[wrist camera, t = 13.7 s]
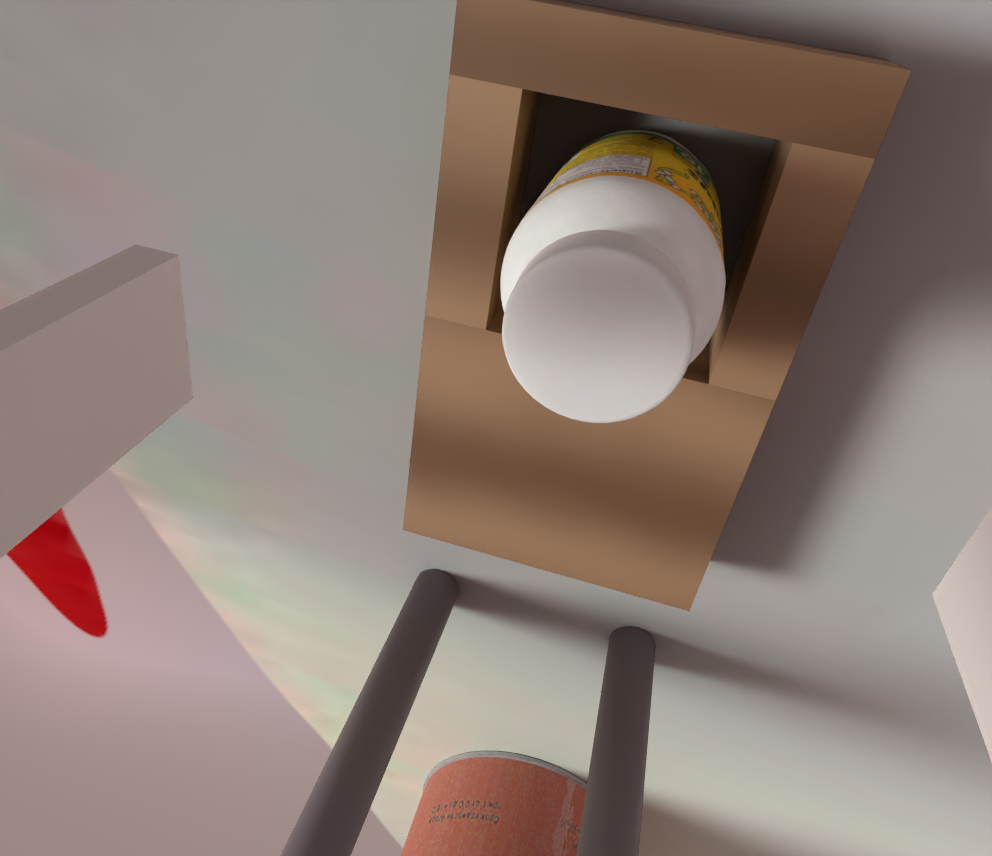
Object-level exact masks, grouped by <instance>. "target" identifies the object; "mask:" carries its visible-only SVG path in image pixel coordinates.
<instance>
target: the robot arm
mask: <svg viewBox="0 0 992 856" xmlns="http://www.w3.org/2000/svg"><path fill="white" fill-rule="evenodd" d="M192 398H193V393H192V383H191V373H190V364H189V354H188V344H187V334H186V324H185V315H184V305H183V295H182V285H181V275H180V266H179V256H178V255H176V254H172V253H168V252H164V251H160V250H156V249H152V248H147V247H143V246H139V245H134V246H132V247H130V248H128V249H126V250H124V251H122V252H120V253H118V254H116V255H114V256H112V257H110V258H108V259H106V260H104V261H101V262H99V263H97V264H95V265H93V266H91V267H89V268H87V269H85V270H83V271H81V272H79V273H77V274H75V275H73V276H70V277H68V278H66V279H64V280H62V281H60V282H58V283H56V284H54V285H52V286H50V287H48V288H46V289H44V290H42V291H39V292H37V293H35V294H33V295H31V296H29V297H27V298H25V299H23V300H21V301H19V302H17V303H15V304H13V305H11V306H9V307H6V308H4V309H2V310H0V558H1V557H3V556H4V555H5V554H6V553H8V552H9V551H10V550H11V549H12V548H14V547H15V546H16V545H17V544H18V543H20V542H21V541H22V540H23V539H24V538H26V537H27V536H28V535H29V534H30V533H32V532H33V531H34V530H35V529H36V528H38V527H39V526H40V525H41V524H42V523H44V522H45V521H46V520H47V519H48V518H49V517H51V516H52V515H53V514H54V513H55V512H57V511H58V510H59V509H60V508H61V507H63V506H64V505H65V504H66V503H67V502H69V501H70V500H71V499H72V498H73V497H75V496H76V495H77V494H78V493H79V492H81V491H82V490H83V489H84V488H85V487H87V486H88V485H89V484H90V483H91V482H93V480H95V479H96V478H97V477H99V476H100V475H101V474H102V473H103V472H105V471H106V470H107V469H108V468H109V467H111V466H112V465H113V464H114V463H115V462H117V461H118V460H119V459H120V458H121V457H123V456H124V455H125V454H126V453H127V452H129V451H130V450H131V449H132V448H133V447H135V446H136V445H137V444H138V443H139V442H141V441H142V440H143V439H144V438H145V437H147V436H148V435H149V434H150V433H151V432H153V431H154V430H155V429H156V428H157V427H159V426H160V425H161V424H162V423H163V422H165V421H166V420H167V419H168V418H169V417H171V416H172V415H173V414H174V413H175V412H177V411H178V410H179V409H180V408H181V407H183V406H184V405H185V404H186V403H187V402H189V401H190V400H191V399H192ZM932 596H933V599H934V601H935V604H936V607H937V610H938V613H939V615H940V618H941V621H942V624H943V627H944V630H945V632H946V635H947V638H948V641H949V644H950V646H951V649H952V652H953V655H954V658H955V660H956V663H957V666H958V669H959V672H960V675H961V677H962V680H963V683H964V686H965V689H966V691H967V694H968V697H969V700H970V703H971V705H972V708H973V711H974V714H975V717H976V719H977V722H978V725H979V728H980V731H981V734H982V736H983V739H984V742H985V745H986V748H987V750H988V753H989V756H990V759H991V762H992V506H991V508H990V509H989V511H988V512H987V514H986V515H985V517H984V518H983V520H982V521H981V523H980V524H979V526H978V527H977V529H976V530H975V532H974V533H973V535H972V536H971V538H970V539H969V541H968V542H967V544H966V545H965V547H964V548H963V549H962V551H961V552H960V554H959V555H958V557H957V558H956V560H955V561H954V563H953V564H952V566H951V567H950V569H949V570H948V572H947V573H946V575H945V576H944V578H943V579H942V581H941V582H940V584H939V585H938V587H937V588H936V590H935V591H934V593H933V594H932Z"/></svg>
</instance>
